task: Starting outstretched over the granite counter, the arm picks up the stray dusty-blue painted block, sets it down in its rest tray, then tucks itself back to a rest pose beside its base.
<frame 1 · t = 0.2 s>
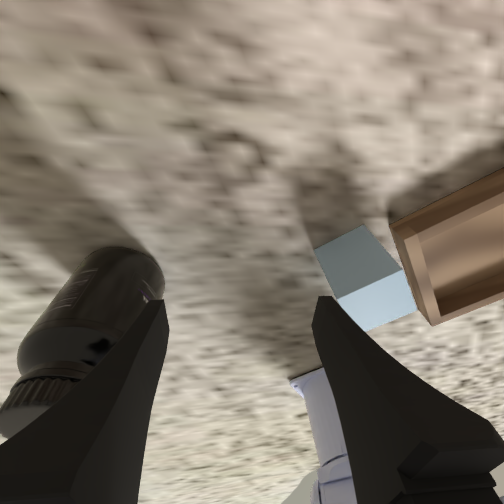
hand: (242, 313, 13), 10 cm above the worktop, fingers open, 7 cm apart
block: (346, 255, 24), on the worktop
tray: (472, 242, 24), on the worktop
supplement bottle: (125, 275, 23), on the worktop
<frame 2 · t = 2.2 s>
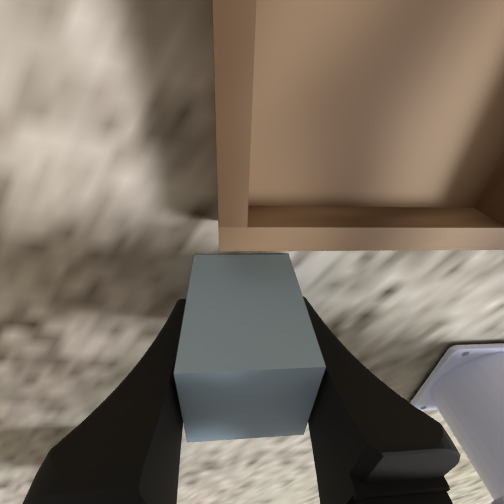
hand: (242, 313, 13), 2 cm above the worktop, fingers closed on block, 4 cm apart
block: (241, 289, 14), on the worktop, touching gripper
tray: (398, 62, 9), on the worktop
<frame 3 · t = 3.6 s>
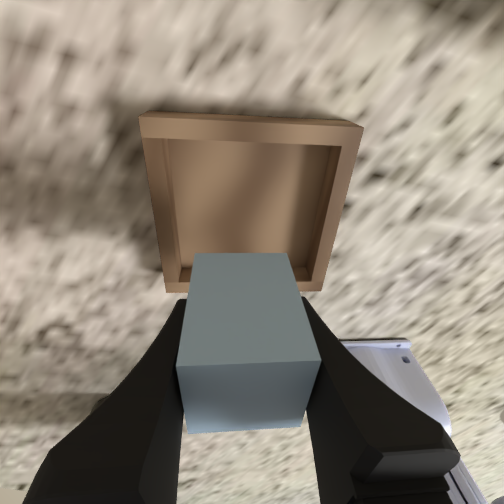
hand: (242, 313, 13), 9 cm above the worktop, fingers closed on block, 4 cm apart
block: (240, 287, 15), point 7 cm above the worktop, touching gripper
tray: (247, 208, 20), on the worktop
when the fingers open (4 cm above the worktop, at t = 5.2 s): block drops 1 cm, resting on tray.
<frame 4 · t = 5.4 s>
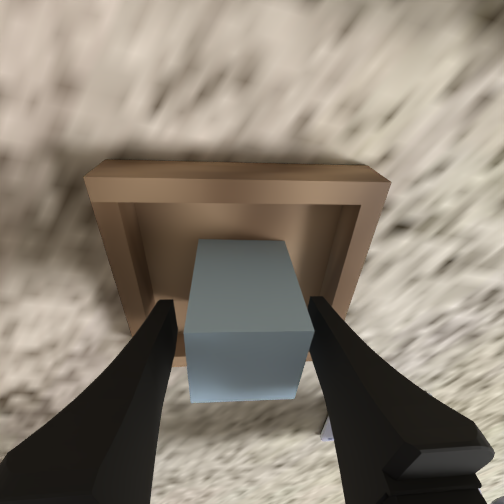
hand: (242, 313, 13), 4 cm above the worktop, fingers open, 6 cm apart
block: (240, 273, 16), resting on tray
tray: (239, 266, 16), on the worktop
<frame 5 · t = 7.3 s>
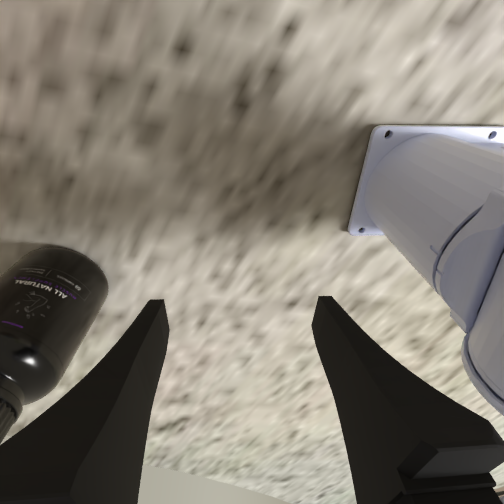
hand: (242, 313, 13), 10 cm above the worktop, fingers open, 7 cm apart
supplement bottle: (68, 276, 23), on the worktop
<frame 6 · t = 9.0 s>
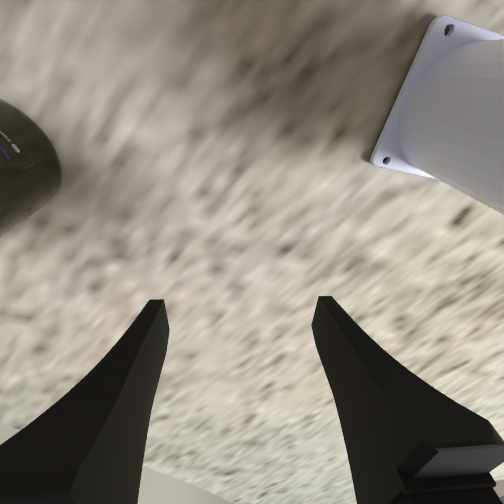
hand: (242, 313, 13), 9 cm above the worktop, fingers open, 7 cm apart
supplement bottle: (5, 153, 17), on the worktop
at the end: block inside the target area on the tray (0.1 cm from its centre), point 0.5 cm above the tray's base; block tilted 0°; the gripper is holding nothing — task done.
